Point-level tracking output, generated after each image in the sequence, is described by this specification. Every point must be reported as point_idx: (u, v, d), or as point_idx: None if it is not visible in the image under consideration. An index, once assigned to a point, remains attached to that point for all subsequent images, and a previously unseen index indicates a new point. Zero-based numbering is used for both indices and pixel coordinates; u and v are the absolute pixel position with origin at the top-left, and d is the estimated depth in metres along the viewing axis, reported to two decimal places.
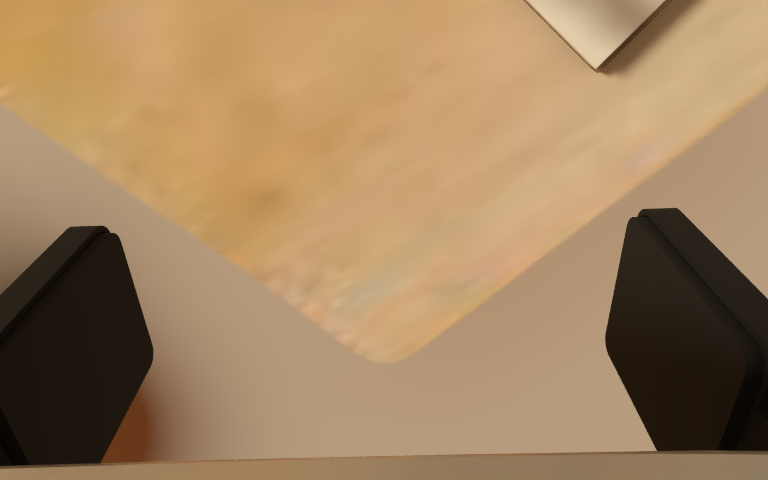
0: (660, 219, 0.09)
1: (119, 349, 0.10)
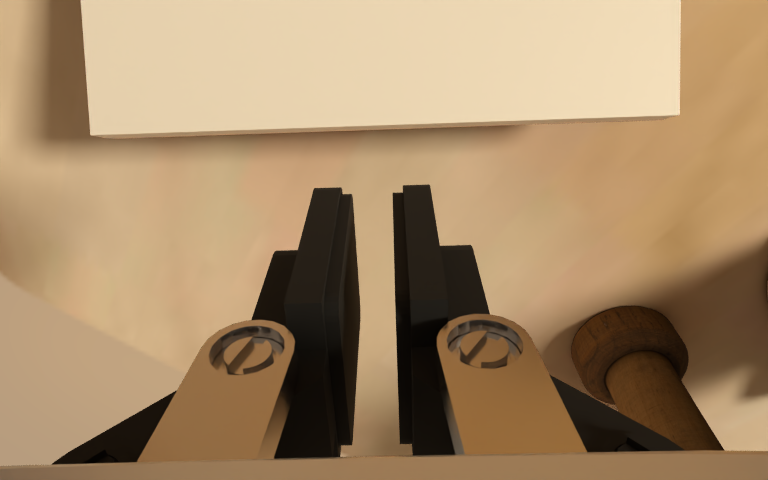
0: (408, 194, 0.10)
1: (355, 300, 0.11)
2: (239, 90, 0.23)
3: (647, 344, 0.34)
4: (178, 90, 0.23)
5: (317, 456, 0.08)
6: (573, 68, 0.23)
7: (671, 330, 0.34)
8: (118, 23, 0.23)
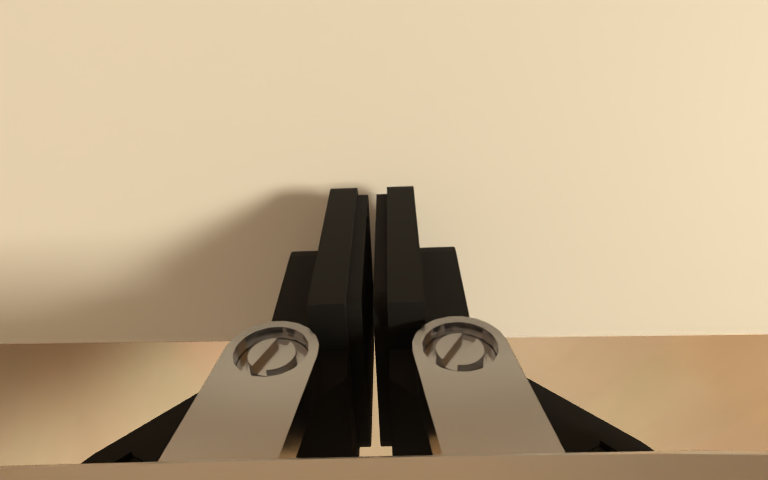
0: (391, 195, 0.10)
1: (371, 300, 0.11)
2: (140, 271, 0.12)
3: None
4: (28, 270, 0.13)
5: None
6: None
7: None
8: None
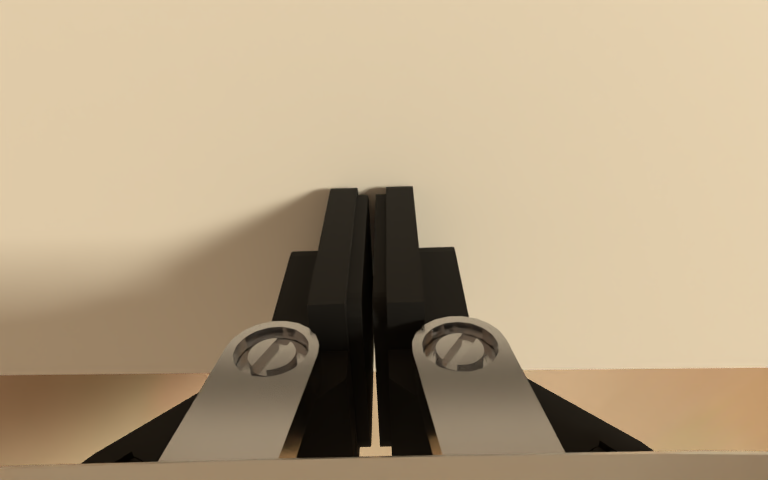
0: (390, 195, 0.10)
1: (371, 301, 0.11)
2: (152, 318, 0.13)
3: None
4: (42, 317, 0.13)
5: None
6: None
7: None
8: None
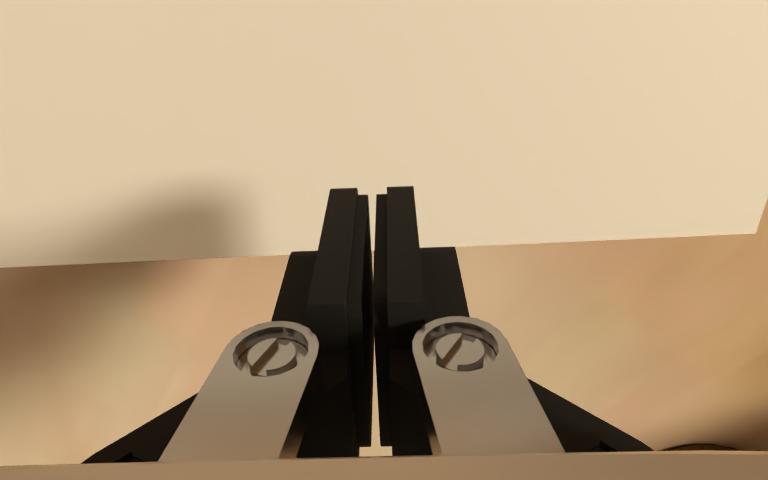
0: (391, 195, 0.10)
1: (371, 300, 0.11)
2: (144, 212, 0.16)
3: None
4: (55, 214, 0.16)
5: (339, 457, 0.08)
6: (625, 178, 0.16)
7: None
8: None
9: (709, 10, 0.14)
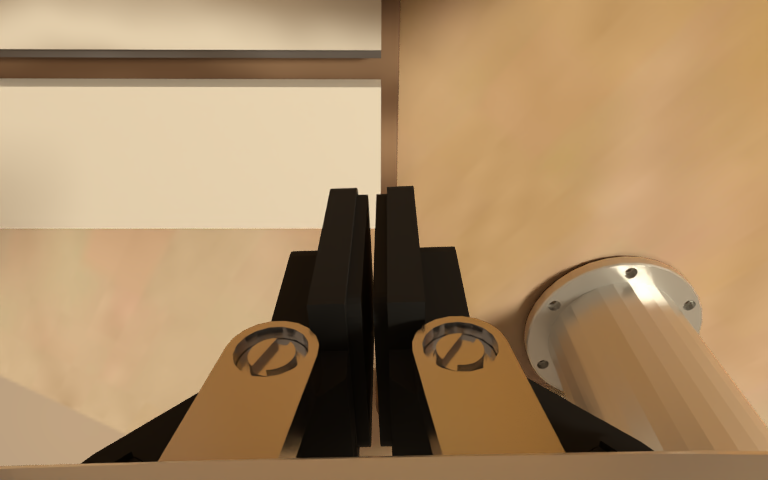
0: (391, 195, 0.10)
1: (371, 300, 0.11)
2: (79, 205, 0.34)
3: None
4: (36, 204, 0.34)
5: None
6: (308, 199, 0.34)
7: None
8: None
9: (326, 128, 0.32)
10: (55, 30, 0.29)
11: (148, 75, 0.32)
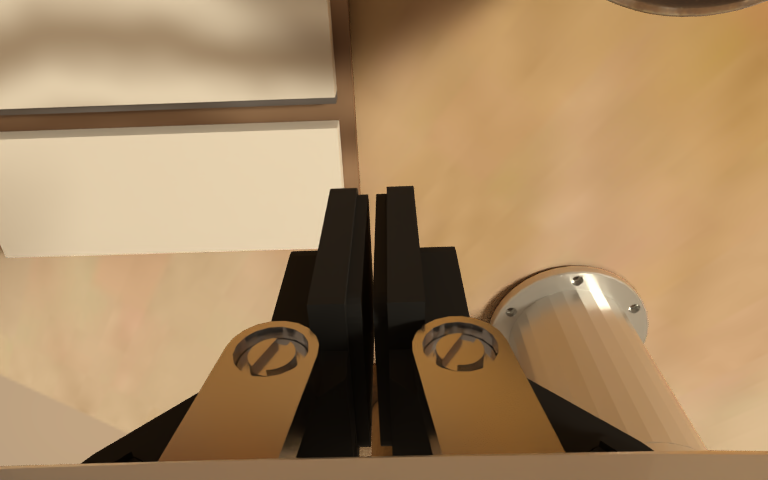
0: (391, 195, 0.10)
1: (371, 300, 0.11)
2: (86, 235, 0.39)
3: None
4: (51, 235, 0.39)
5: None
6: (282, 224, 0.39)
7: None
8: (3, 200, 0.38)
9: (293, 163, 0.37)
10: (62, 91, 0.35)
11: (142, 123, 0.37)
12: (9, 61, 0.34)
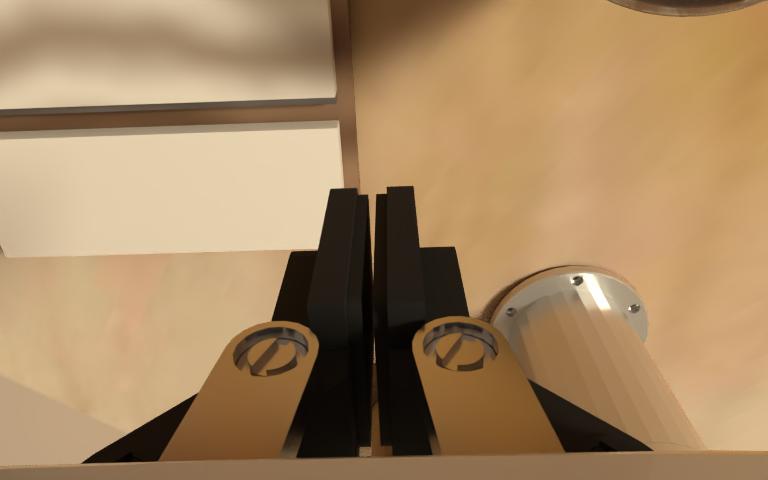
0: (391, 195, 0.10)
1: (371, 300, 0.11)
2: (86, 235, 0.39)
3: None
4: (51, 235, 0.39)
5: None
6: (282, 224, 0.39)
7: None
8: (3, 200, 0.38)
9: (293, 163, 0.37)
10: (62, 91, 0.35)
11: (142, 124, 0.37)
12: (9, 61, 0.34)
